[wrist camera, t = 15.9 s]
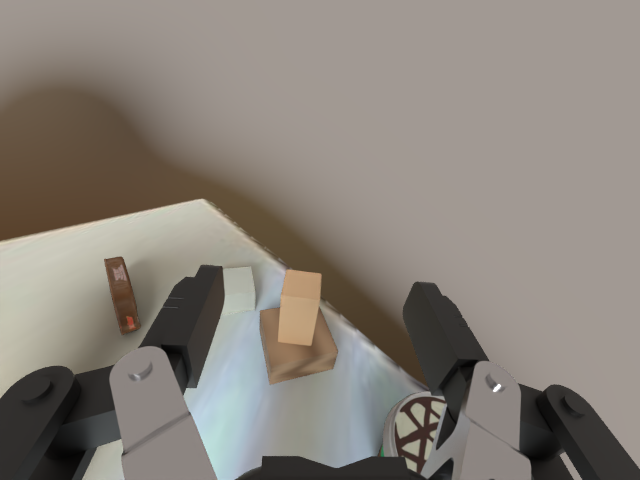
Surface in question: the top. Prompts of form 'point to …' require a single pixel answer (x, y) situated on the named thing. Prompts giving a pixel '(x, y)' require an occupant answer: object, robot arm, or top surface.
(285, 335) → the ochre pillar
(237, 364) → the top surface
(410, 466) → the food container
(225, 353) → the top surface
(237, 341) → the top surface
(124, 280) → the tin
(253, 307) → the grey block
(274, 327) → the walnut block
